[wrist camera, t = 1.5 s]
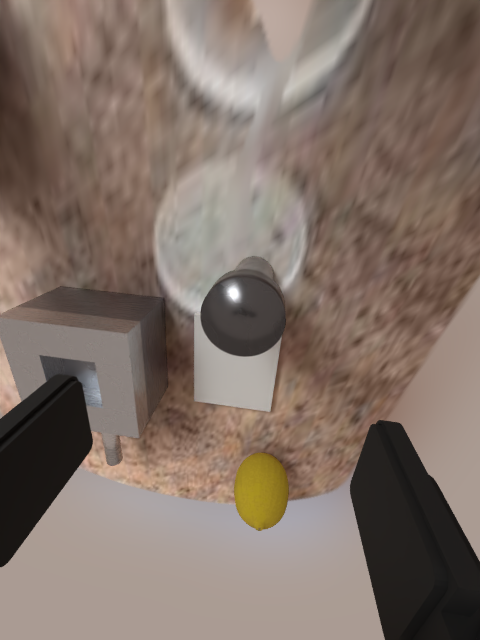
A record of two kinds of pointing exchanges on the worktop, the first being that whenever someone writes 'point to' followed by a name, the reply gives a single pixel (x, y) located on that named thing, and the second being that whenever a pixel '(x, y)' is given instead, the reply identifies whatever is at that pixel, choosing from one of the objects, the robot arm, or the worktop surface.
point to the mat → (232, 374)
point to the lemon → (261, 491)
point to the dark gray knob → (244, 310)
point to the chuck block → (93, 354)
